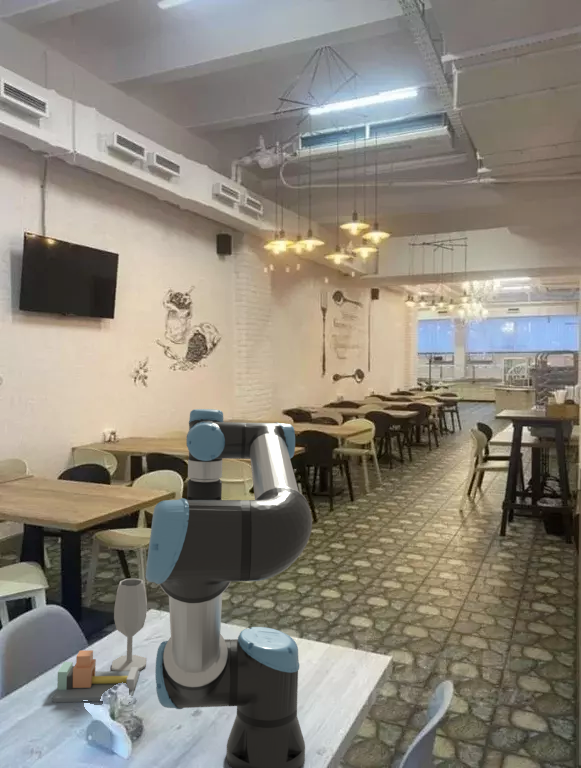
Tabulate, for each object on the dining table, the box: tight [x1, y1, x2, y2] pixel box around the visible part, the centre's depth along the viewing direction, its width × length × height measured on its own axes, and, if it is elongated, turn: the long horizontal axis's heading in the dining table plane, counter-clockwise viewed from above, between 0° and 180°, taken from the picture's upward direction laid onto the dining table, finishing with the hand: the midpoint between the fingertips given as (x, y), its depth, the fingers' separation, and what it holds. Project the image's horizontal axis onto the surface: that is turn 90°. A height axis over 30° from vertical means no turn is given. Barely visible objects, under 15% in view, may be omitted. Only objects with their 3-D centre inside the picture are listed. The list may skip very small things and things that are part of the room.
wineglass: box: [111, 577, 148, 672], centre depth 155 cm, size 9×9×21 cm
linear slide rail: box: [52, 661, 141, 703], centre depth 144 cm, size 12×17×5 cm
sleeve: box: [73, 649, 97, 688], centre depth 143 cm, size 5×4×7 cm
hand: (202, 584), depth 138 cm, fingers closed
